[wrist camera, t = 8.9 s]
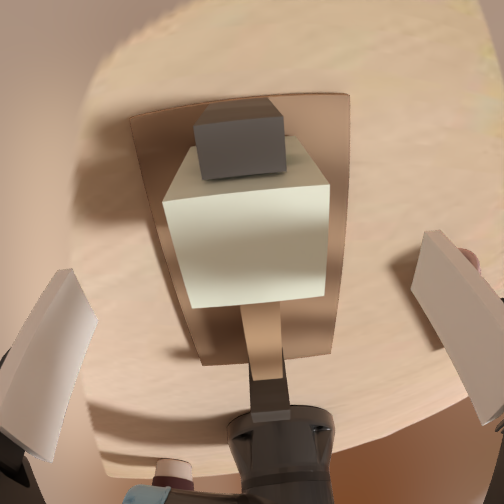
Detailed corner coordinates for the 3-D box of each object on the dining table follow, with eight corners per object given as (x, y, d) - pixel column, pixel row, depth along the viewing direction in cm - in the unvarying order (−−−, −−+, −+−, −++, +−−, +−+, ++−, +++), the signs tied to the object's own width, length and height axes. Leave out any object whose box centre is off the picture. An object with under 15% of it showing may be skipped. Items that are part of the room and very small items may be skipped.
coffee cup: (171, 469, 54) (167, 526, 42) (141, 456, 49) (134, 519, 37) (207, 467, 52) (206, 529, 40) (178, 455, 47) (174, 525, 35)
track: (328, 347, 28) (344, 411, 22) (203, 359, 28) (198, 424, 22) (345, 93, 15) (404, 116, 9) (133, 115, 15) (77, 151, 10)
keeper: (298, 216, 18) (324, 295, 13) (205, 226, 18) (192, 308, 13) (295, 135, 15) (329, 184, 10) (190, 146, 16) (162, 202, 10)
